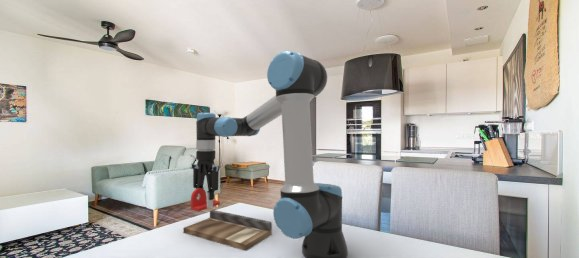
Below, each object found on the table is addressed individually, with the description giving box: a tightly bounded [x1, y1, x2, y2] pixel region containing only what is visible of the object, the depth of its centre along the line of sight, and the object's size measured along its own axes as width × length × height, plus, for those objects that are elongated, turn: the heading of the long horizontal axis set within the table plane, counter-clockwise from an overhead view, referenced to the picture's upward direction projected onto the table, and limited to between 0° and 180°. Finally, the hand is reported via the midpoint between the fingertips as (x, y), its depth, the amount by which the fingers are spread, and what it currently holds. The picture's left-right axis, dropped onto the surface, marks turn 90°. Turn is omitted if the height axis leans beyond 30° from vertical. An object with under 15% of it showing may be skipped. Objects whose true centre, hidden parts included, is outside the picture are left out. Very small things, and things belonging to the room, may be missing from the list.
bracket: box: [190, 188, 221, 212], centre depth 108 cm, size 12×4×8 cm, turn 151°
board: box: [183, 209, 273, 251], centre depth 104 cm, size 32×16×5 cm, turn 61°
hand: (205, 206), depth 107 cm, fingers closed on bracket, 4 cm apart
